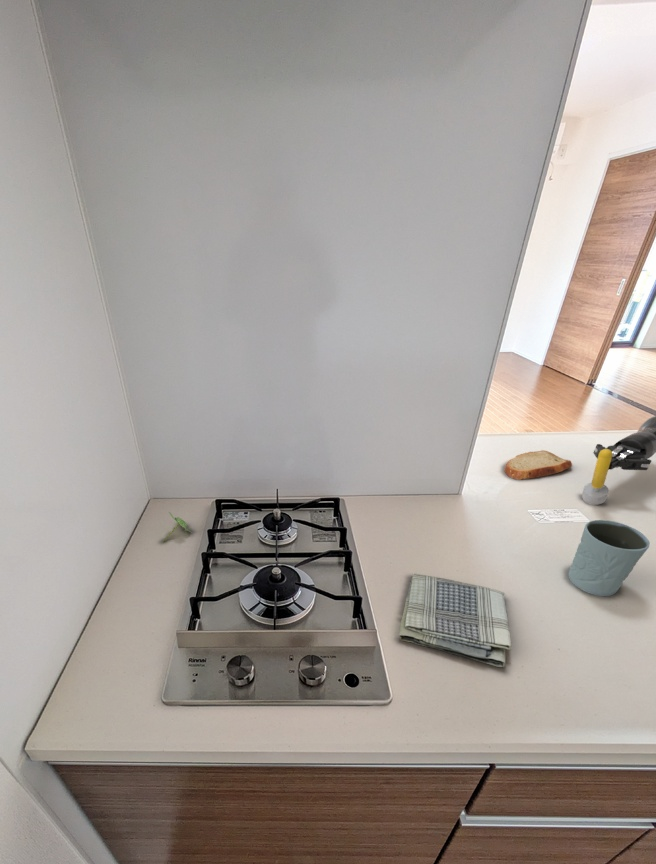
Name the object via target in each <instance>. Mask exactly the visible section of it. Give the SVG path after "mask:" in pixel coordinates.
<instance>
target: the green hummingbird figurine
mask: <svg viewBox="0 0 656 864" xmlns="http://www.w3.org/2000/svg"><path fill="white" fill-rule="evenodd" d="M168 513H169V515H170V516H171V518H172V519H173V520H174V522H176V525H175V527H174V528H173V529H172V531H171V532H170V533H169V534H168V536H167V537H165V539H164V540H163V541H162V542H163V543H165V542H166V540H168V538H169V537H170V536H171V535H172V534H173V532H174V531H175V530H176V528H177V527H178V526H180V527H182V528H183V529H184V530H186V531H187V532H190V533H191V532H192V531H191V530H190V529H189V528H187V527H188V524H187V522H186V521H185V519H183V518H181V517H179V516H178V517H175V516H174V515H173V514H172V513H171V512H170V511H168Z"/></svg>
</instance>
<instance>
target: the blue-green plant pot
mask: <svg viewBox="0 0 656 864" xmlns="http://www.w3.org/2000/svg"><path fill="white" fill-rule="evenodd" d="M649 548H650V540H649V538H647V536H646V535H645V534H643V533H642V532H640V531H639V530H637V529H636V528H634V527H631V526H629V525H627V524H625V523H622V522H618V521H614V520H607V519H595V520H591V521H590V520H589V521H588V522H587V523H586V524H585V525H584V529H583V532H582V534H581V538H580V542H579V543H578V546H577V548H576V552H575V554H574V557H573V559H572V563H571V565H570V567H569V570H568V579H569V581H570V582H571V583H572V585H574V586H575V587H576V588H578V589H580V590H581V591H584V593H585V592H586V593H588V594H590V595H593V596H600V597H610V596H613V595H615V594H616V593H617V592H618V591H619V589H620V588H621V587H622V585H623V582H624V581H626V579H627V578H628V577H629V576H630V574H631V572H633V570H634V568H635V567H636V565H637V564H638V562H639V560H640V559H641V558H642V557H643V556H644V554H645V553H646V552H647V550H648V549H649Z"/></svg>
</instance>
